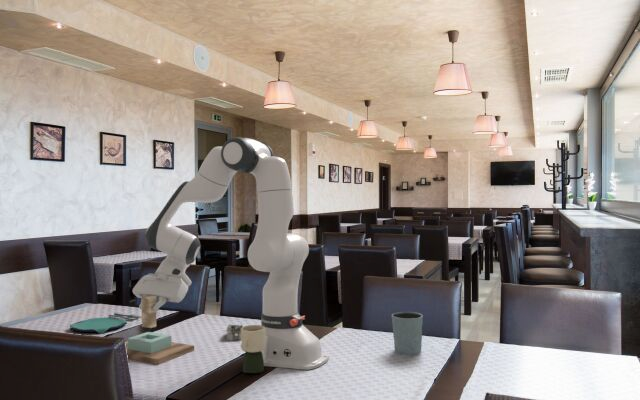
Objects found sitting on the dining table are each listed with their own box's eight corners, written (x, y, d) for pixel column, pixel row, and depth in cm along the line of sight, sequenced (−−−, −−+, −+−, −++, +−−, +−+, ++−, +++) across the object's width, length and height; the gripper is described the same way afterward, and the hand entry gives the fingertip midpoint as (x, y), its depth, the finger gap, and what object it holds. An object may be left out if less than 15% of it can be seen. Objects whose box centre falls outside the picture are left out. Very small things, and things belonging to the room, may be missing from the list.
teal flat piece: (58, 332, 197) (58, 326, 197) (112, 316, 226) (112, 310, 226) (102, 337, 191) (102, 330, 191) (151, 319, 220) (151, 314, 220)
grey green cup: (422, 356, 165) (422, 319, 164) (390, 355, 167) (390, 317, 166) (422, 347, 175) (422, 311, 174) (392, 345, 177) (392, 310, 176)
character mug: (252, 364, 158) (252, 322, 158) (273, 367, 155) (272, 324, 155) (232, 376, 148) (232, 331, 148) (254, 380, 145) (254, 333, 145)
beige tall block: (156, 326, 172) (156, 296, 172) (150, 328, 170) (150, 297, 169) (147, 325, 174) (147, 295, 173) (141, 326, 171) (141, 296, 171)
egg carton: (245, 341, 185) (245, 329, 185) (224, 341, 184) (224, 329, 184) (248, 332, 195) (248, 322, 195) (228, 333, 195) (228, 322, 195)
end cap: (171, 345, 173) (171, 335, 173) (151, 353, 165) (151, 342, 165) (148, 341, 178) (148, 331, 178) (127, 349, 170) (127, 338, 170)
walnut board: (194, 350, 173) (194, 345, 173) (159, 364, 159) (159, 359, 159) (141, 341, 184) (141, 337, 184) (104, 353, 170) (104, 349, 170)
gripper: (141, 267, 182) (119, 300, 174) (186, 271, 173) (165, 306, 164) (151, 278, 186) (130, 311, 178) (195, 283, 177) (175, 317, 168)
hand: (147, 309), depth 171 cm, fingers closed on beige tall block, 4 cm apart
